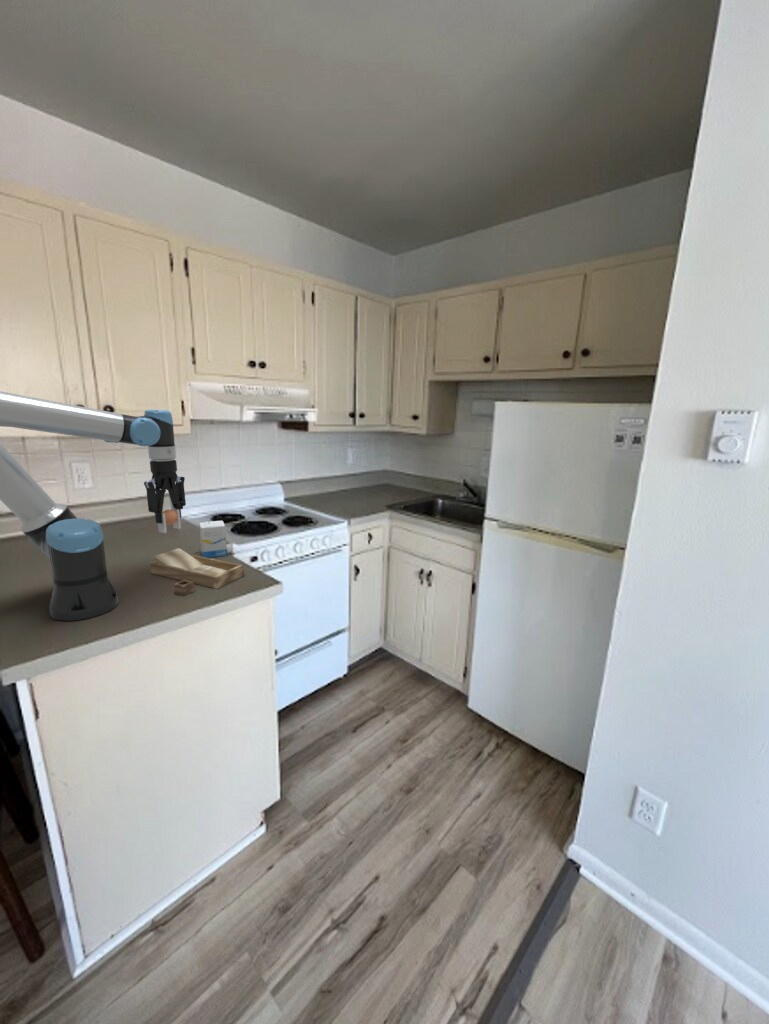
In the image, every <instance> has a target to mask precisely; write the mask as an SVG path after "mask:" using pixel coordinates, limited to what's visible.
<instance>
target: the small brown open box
mask: <svg viewBox="0 0 769 1024" xmlns="http://www.w3.org/2000/svg"><path fill="white" fill-rule="evenodd" d="M173 589H174V594H176V595H180V596H184V597H185V596H187V595H189V594H192V593H193V592H195V584H194V582H192V581H188V580H179V581H178V582H176V583H173Z"/></svg>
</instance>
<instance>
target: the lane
mask: <svg viewBox="0 0 769 1024" xmlns="http://www.w3.org/2000/svg"><path fill="white" fill-rule="evenodd" d="M152 560H153V561H152V562H150V563H149V564H150V573H151V574H153V575H157V576H162V577H166V578H170V579H174V580H177V581H182V580H188V581H192V582H194V585H195V584H196V585H200V586H204V587H208V588H212V589H216V590H218V589H219V588H222V587H224V586H225V585H228V584H231V583H232V582H234V581H236V580H238V579H240V578H241V577H244V576H245V565H244V564H240V563H234V562H230V561H225V560H222V559H221V560H219V559H216V558H212V557H211V558H206V557H203V556H201V555H195V554H190V553H187V552H186V551H185V550H183V549H181V548H179V547H178V548H175V549H172V550H169V551H167V552H163V553H160V554H157V555H154V556H153V557H152Z"/></svg>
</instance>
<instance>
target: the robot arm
mask: <svg viewBox="0 0 769 1024" xmlns="http://www.w3.org/2000/svg"><path fill="white" fill-rule="evenodd" d="M173 420H174V419H173V416H172V413H171V411H170V410H168V409H145V411H144V415H140V416H137V415H136V416H133V415H128V414H122V413H117V412H112V411H106V410H102V409H98V408H97V409H96V408H91V407H85V406H80V405H76V404H75V405H74V404H70V403H63V402H59V401H53V400H48V399H43V398H37V397H33V396H27V395H22V394H16V393H11V392H5V391H0V426H1V427H8V428H14V429H15V428H16V429H22V430H28V431H29V430H30V431H36V432H37V431H38V432H43V433H44V432H45V433H51V434H57V435H58V434H59V435H65V436H73V437H81V438H86V439H93V440H101V441H104V442H106V443H115V444H117V443H122V444H129V445H130V444H131V445H137V446H140V447H148V459H150V461H149V467H150V468H149V469H150V472H151V474H152V477H151V479H150V480H148V481H144V482H143V485H144V486H145V490H146V499H147V500H146V501H147V508H148V509H147V510H148V512H149V513H153V514H154V516H155V517H154V518H155V523H156V524H157V529H158V533H162V534H166V533H168V532H167V525H166V520H165V513H162V512H163V511H164V509H163V508H164V502H165V493H166V492H168V495H169V498H170V500H171V501H170V502H171V504H172V507H173V508H171V509H170V510H173V511H175V512H176V514H177V517H178V518H177V521H176V522H175V523H174V524H172V527H173V529H178V530H180V529H182V525H181V519H182V510H184V507H185V506H187V505H186V504H187V503H186V494H185V493H186V492H185V491H186V490H185V479H186V478H185V476H180V475H178V473H177V471H178V465H177V463H178V462H177V460H176V457H177V455H176V444H175V434H174V430H175V429H174V421H173ZM0 501H1V502H2V503H3V504H4V505H5V506H6V508H7V509H9V511H10V512H12V513H13V514H14V515H15V516H16V517H17V518H18V519H19V520H20V521H21V524H22V525H21V528H20V531H21V532H22V533H23V534H24V535H25V536H26V537H27V538H28V539H29V540H30V541H31V542H32V543H33V544H34V545H35V546H36V548H37V549H38V550H39V551H40V552H42V553H43V554H44V555H45V556H46V557H47V558H48V559H49V562H50V568H51V574H52V579H53V589H52V593H51V598H50V601H49V606H48V610H49V616H50V617H51V618H52V619H53V620H57V621H65V622H66V621H67V622H68V621H69V622H70V621H80V620H85V619H86V620H87V619H91V618H94V617H97V616H100V615H104V614H106V613H107V612H110V611H111V610H113V609H114V608H116V607H117V606H118V604H119V595H118V592H117V590H116V588H115V587H114V585H113V583H112V581H111V579H110V578H109V576H108V569H107V559H106V553H105V552H106V551H105V544H104V532H103V530H102V526H101V525H100V523H99V522H97V521H95V520H94V519H93V520H92V519H89V518H87V519H86V518H78V517H77V516H76V515H75V514H74V512H73V511H71V509H70V508H69V507H68V506H67V505H66V504H63V503H56V502H55V500H53V499H52V498H51V496H50V495H49V494H48V493H47V492H46V491H45V490H44V489H43V488H42V487H41V486H40V485H39V483H38V482H37V481H36V480H35V479H34V478H33V477H32V476H31V475H30V473H29V472H27V470H26V469H25V468H24V467H23V466H22V465H21V463H20V462H18V461H17V459H16V458H15V457H14V456H13V455H12V454H11V453H10V451H8V449H7V448H5V446H4V445H3V444H2V443H1V442H0Z"/></svg>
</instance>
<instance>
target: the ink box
mask: <svg viewBox="0 0 769 1024" xmlns="http://www.w3.org/2000/svg"><path fill="white" fill-rule="evenodd" d="M198 526H199V539H200V552H201V554H202V556H201V557H206V558H211V559H212V558H218V557H226V556H228V552H227V551H228V550H227V536H226V535H227V533H226V525H225V523H224V521H223V520H213V521H212V520H210V521H204V522H203V521H202V522H199V524H198Z"/></svg>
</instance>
